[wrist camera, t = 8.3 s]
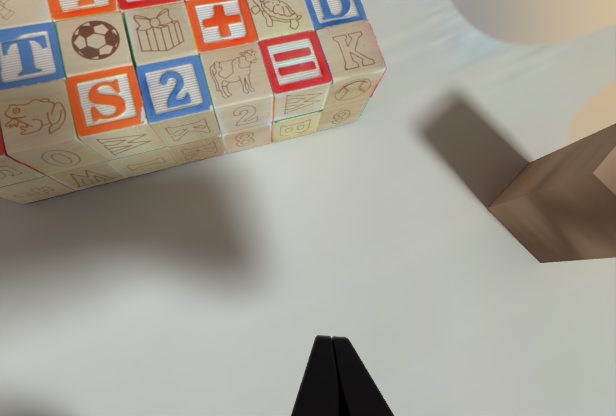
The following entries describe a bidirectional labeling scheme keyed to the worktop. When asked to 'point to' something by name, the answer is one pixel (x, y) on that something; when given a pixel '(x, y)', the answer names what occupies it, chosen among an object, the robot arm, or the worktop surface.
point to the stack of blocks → (169, 83)
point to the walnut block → (565, 202)
